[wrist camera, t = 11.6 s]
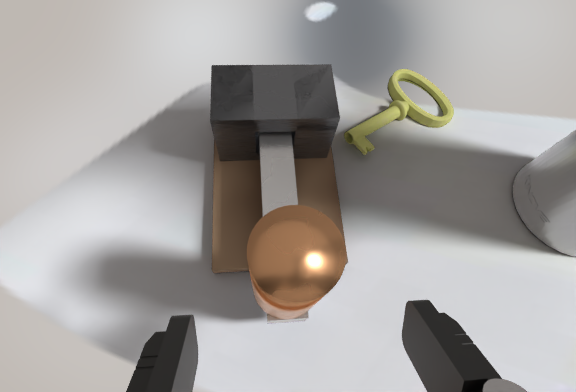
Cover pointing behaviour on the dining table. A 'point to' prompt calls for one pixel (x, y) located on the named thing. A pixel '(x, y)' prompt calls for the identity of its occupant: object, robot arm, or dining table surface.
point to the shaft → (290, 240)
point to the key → (401, 109)
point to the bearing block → (273, 108)
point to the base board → (248, 204)
